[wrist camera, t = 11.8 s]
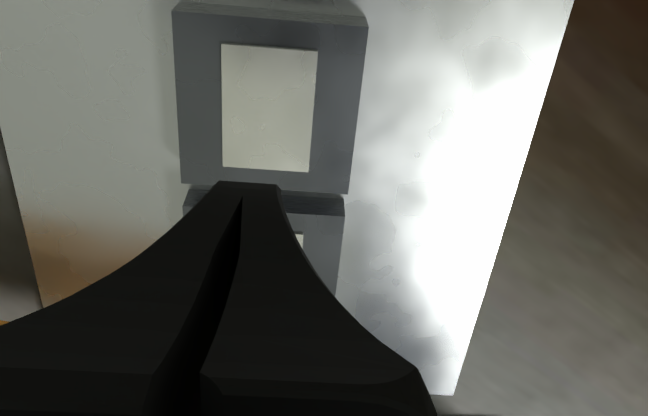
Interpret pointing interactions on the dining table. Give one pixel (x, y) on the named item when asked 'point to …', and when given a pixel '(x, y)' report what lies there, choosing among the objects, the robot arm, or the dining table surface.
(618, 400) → the dining table surface
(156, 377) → the robot arm
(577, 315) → the dining table surface
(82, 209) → the server panel
